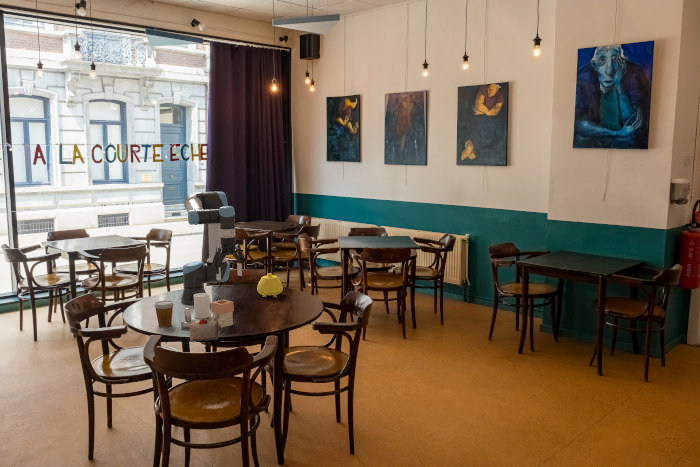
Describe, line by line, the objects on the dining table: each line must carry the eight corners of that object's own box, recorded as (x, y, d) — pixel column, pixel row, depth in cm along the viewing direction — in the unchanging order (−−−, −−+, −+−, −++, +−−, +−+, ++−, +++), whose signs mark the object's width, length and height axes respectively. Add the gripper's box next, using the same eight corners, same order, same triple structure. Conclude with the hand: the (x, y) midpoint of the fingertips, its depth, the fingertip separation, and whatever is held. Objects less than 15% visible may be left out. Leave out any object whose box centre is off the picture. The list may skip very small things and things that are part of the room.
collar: (211, 311, 310) (211, 302, 309) (224, 308, 316) (223, 299, 315) (221, 314, 304) (220, 305, 304) (233, 311, 310) (233, 301, 310)
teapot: (259, 291, 383) (259, 269, 381) (284, 290, 384) (283, 269, 382) (255, 299, 364) (255, 276, 362) (281, 298, 364) (281, 276, 362)
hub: (178, 327, 307) (177, 308, 306) (190, 324, 312) (189, 305, 311) (186, 330, 302) (185, 310, 301) (198, 327, 308) (197, 307, 306)
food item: (188, 342, 284) (187, 322, 282) (190, 337, 291) (189, 317, 290) (218, 341, 285) (217, 321, 284) (219, 336, 293) (218, 316, 292)
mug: (192, 313, 332) (191, 292, 330) (207, 312, 335) (206, 290, 334) (195, 319, 321) (194, 297, 320) (211, 317, 325) (210, 295, 323)
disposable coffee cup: (157, 323, 315) (156, 300, 313) (176, 322, 316) (175, 300, 314) (153, 328, 306) (152, 305, 304) (172, 327, 306) (171, 304, 305)
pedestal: (213, 325, 311) (212, 311, 310) (224, 322, 316) (224, 309, 315) (221, 327, 306) (221, 314, 305) (232, 324, 311) (232, 311, 310)
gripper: (212, 240, 297) (214, 282, 300) (251, 234, 316) (252, 274, 319) (203, 239, 302) (204, 280, 304) (242, 233, 320) (243, 273, 323)
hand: (229, 277), depth 311 cm, fingers open, 13 cm apart
